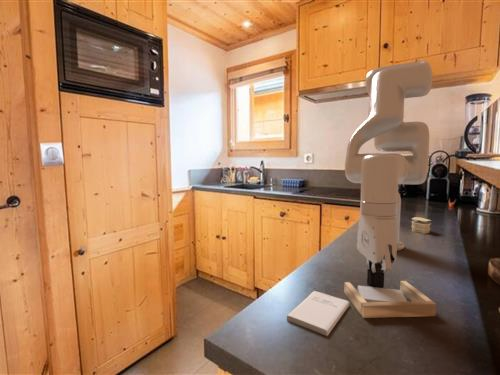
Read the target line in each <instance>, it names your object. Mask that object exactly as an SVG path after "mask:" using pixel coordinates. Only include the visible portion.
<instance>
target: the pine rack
mask: <svg viewBox="0 0 500 375" xmlns="http://www.w3.org/2000/svg"><path fill="white" fill-rule="evenodd" d="M399 283H400V284H399V290H401V291H402V293H403V295H404V297H405V298H408V299H409V300H410V301H408V300H407V302H368V303H367V302H366V301H365V299H364V298H363V297H362V296H361V295H360V294H359V293H358V289H356V288H355V286H354V285H353V284H352V283H351V281H347V282H346V281H345V282H344V284H343V285H344V287H343V288H344V289H343V290H344V291H343V292H344V294H345V296H346V297H347V298H348V300H349V302H351V304H352V305H353V306H354V308H356V310H357V312H358V313H359V314H360V315H361V317H362V318H363V319H371V318H374V319H377V318H380V319H381V318H411V317H413V318H414V317H436V316H437V315H436V313H437V303H435V302H434V301H433V300H431V299H430V298H429V297H428V296H426V295H425V294H424V293H423V292H421V291H420V290H419V289H417V288H415V287H414V286H413V285H412V284H410V283H409V282H408V281H406V280H400V281H399Z"/></svg>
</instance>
